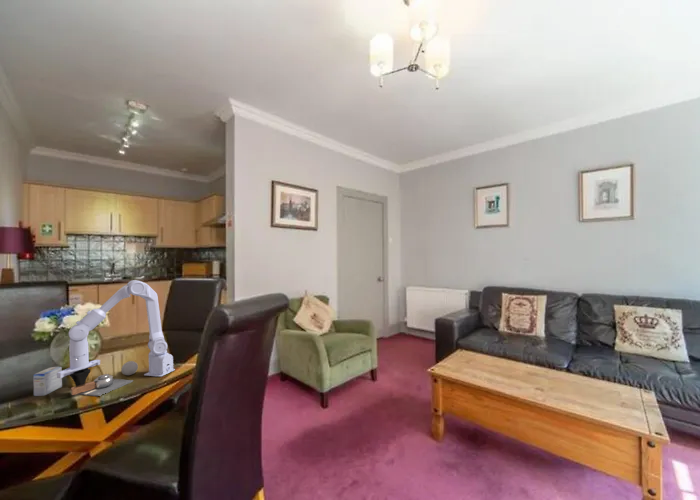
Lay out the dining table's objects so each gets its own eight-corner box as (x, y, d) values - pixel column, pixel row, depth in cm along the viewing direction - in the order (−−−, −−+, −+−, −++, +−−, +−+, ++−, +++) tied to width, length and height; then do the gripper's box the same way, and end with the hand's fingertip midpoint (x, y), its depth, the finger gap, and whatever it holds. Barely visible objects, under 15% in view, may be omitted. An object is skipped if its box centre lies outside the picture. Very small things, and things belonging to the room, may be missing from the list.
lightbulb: (120, 376, 143) (124, 378, 136) (116, 363, 143) (121, 365, 136) (135, 370, 148) (140, 372, 140) (132, 358, 148) (137, 359, 140)
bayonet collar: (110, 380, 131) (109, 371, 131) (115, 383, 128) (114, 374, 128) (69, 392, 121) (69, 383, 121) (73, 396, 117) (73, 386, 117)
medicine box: (51, 387, 129) (50, 367, 129) (62, 386, 129) (61, 366, 129) (33, 396, 121) (32, 374, 121) (45, 395, 121) (45, 373, 121)
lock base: (133, 381, 132) (133, 380, 132) (99, 396, 118) (99, 395, 118) (107, 379, 135) (107, 378, 135) (72, 393, 122) (72, 392, 122)
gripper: (90, 348, 131) (91, 380, 131) (50, 360, 117) (51, 396, 117) (103, 349, 129) (104, 381, 129) (64, 361, 115) (65, 398, 115)
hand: (80, 388), depth 123 cm, fingers closed
